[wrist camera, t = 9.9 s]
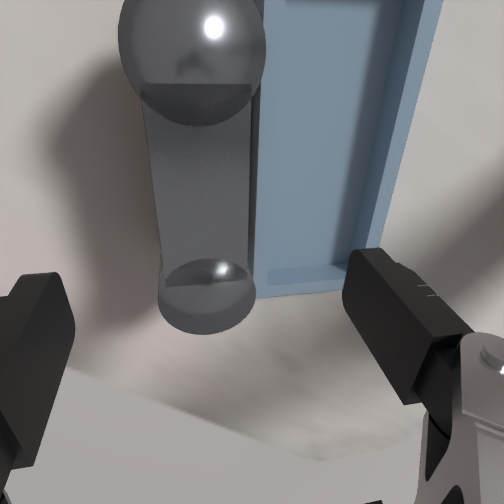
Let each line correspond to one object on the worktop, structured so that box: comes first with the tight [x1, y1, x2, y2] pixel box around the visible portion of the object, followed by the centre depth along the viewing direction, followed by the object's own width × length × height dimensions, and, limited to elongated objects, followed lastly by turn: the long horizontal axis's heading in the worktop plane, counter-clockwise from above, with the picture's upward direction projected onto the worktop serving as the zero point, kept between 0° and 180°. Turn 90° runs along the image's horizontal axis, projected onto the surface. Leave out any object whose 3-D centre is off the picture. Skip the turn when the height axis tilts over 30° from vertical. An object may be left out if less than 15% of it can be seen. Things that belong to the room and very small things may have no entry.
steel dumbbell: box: [118, 0, 266, 335], centre depth 16 cm, size 5×16×4 cm, turn 178°
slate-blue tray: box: [247, 0, 443, 298], centre depth 21 cm, size 9×20×2 cm, turn 178°
